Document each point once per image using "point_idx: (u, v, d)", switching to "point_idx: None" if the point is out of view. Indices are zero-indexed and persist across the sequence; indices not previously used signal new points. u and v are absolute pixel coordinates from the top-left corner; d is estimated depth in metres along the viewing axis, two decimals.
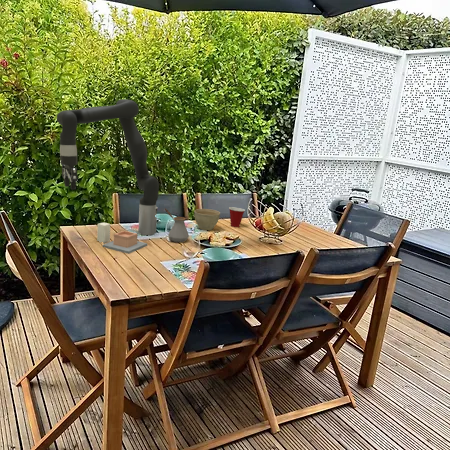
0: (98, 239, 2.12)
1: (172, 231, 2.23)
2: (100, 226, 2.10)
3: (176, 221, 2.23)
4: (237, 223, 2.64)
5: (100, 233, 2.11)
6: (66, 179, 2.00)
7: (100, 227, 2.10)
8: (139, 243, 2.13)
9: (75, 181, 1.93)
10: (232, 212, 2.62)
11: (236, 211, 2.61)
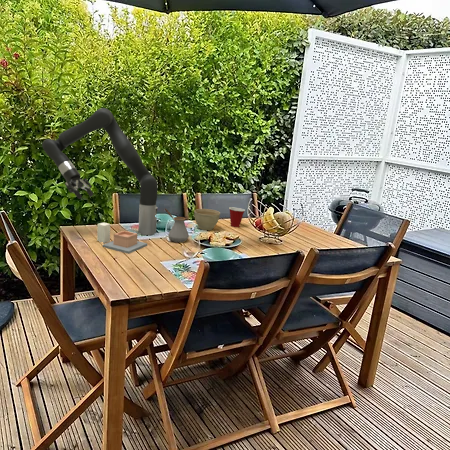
0: (98, 239, 2.12)
1: (172, 231, 2.23)
2: (100, 226, 2.10)
3: (176, 221, 2.23)
4: (237, 223, 2.64)
5: (100, 233, 2.11)
6: (87, 190, 2.16)
7: (100, 227, 2.10)
8: (139, 243, 2.13)
9: (74, 191, 2.07)
10: (232, 212, 2.62)
11: (236, 211, 2.61)
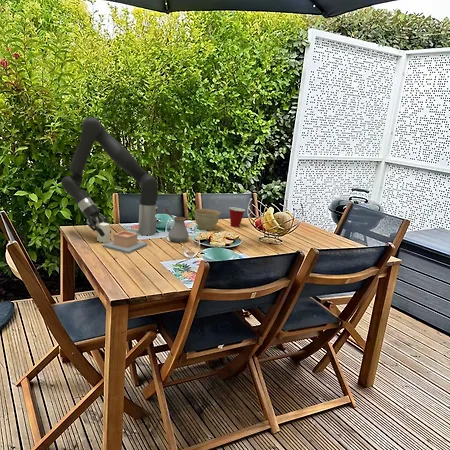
0: (98, 239, 2.12)
1: (172, 231, 2.23)
2: (100, 226, 2.10)
3: (176, 221, 2.23)
4: (237, 223, 2.64)
5: None
6: None
7: (100, 227, 2.10)
8: (139, 243, 2.13)
9: (98, 229, 2.09)
10: (232, 212, 2.62)
11: (236, 211, 2.61)
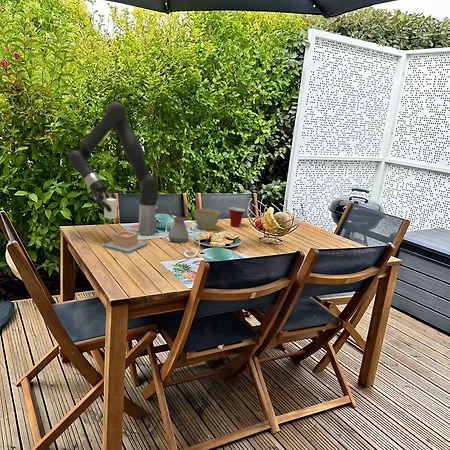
0: (105, 215, 2.08)
1: (172, 231, 2.23)
2: (107, 201, 2.05)
3: (176, 221, 2.23)
4: (237, 223, 2.64)
5: None
6: None
7: (107, 202, 2.05)
8: (139, 243, 2.13)
9: (104, 204, 2.04)
10: (232, 212, 2.62)
11: (236, 211, 2.61)
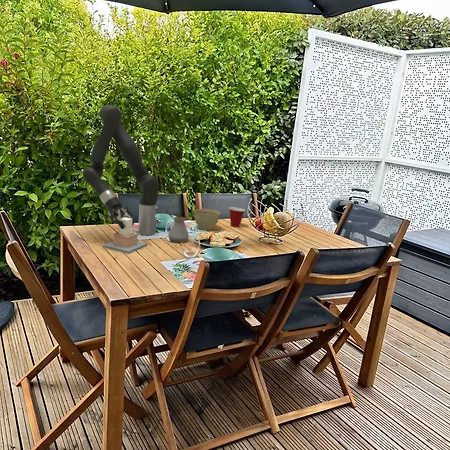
0: (120, 234, 2.07)
1: (172, 231, 2.23)
2: (122, 221, 2.04)
3: (176, 221, 2.23)
4: (237, 223, 2.64)
5: None
6: None
7: None
8: (139, 243, 2.13)
9: (118, 221, 2.02)
10: (232, 212, 2.62)
11: (236, 211, 2.61)
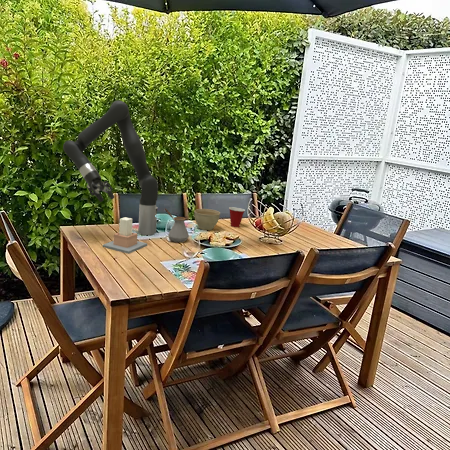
0: (120, 234, 2.07)
1: (172, 231, 2.23)
2: (122, 221, 2.04)
3: (176, 221, 2.23)
4: (237, 223, 2.64)
5: (122, 228, 2.05)
6: (108, 193, 2.12)
7: (122, 222, 2.04)
8: (139, 243, 2.13)
9: (96, 193, 2.03)
10: (232, 212, 2.62)
11: (236, 211, 2.61)
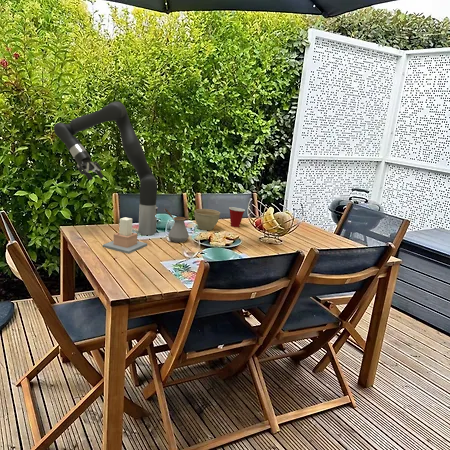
0: (120, 234, 2.07)
1: (172, 231, 2.23)
2: (122, 221, 2.04)
3: (176, 221, 2.23)
4: (237, 223, 2.64)
5: (122, 228, 2.05)
6: (98, 173, 2.21)
7: (122, 222, 2.04)
8: (139, 243, 2.13)
9: (85, 172, 2.12)
10: (232, 212, 2.62)
11: (236, 211, 2.61)
